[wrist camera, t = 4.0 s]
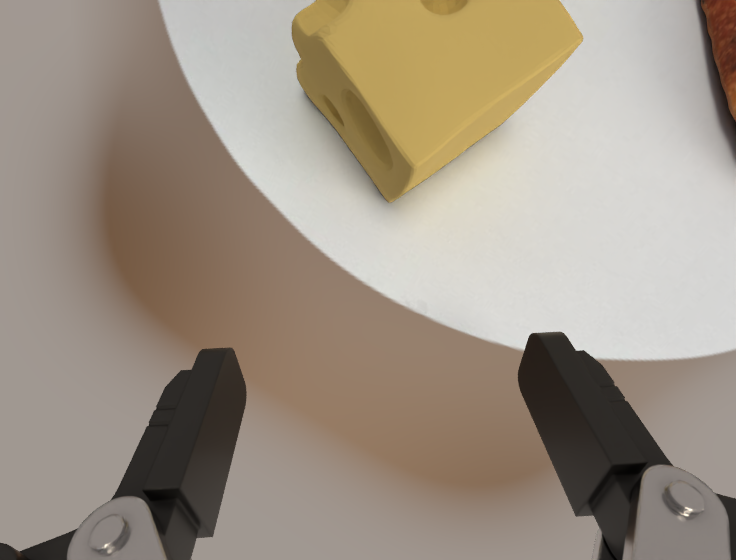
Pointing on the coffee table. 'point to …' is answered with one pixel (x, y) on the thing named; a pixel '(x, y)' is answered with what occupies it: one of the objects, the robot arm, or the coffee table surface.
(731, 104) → the slice of bread
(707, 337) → the coffee table surface
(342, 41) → the cheese
